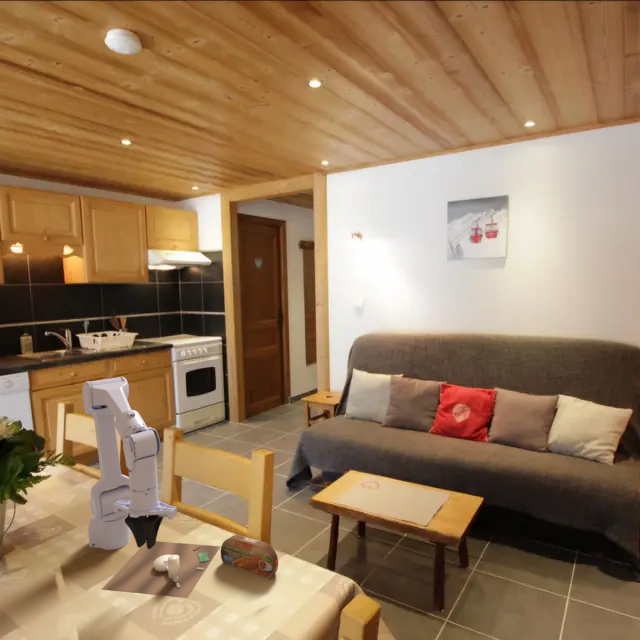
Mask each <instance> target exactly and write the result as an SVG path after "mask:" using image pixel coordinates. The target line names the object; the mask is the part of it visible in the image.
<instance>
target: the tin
mask: <svg viewBox="0 0 640 640" xmlns="http://www.w3.org/2000/svg"><path fill="white" fill-rule="evenodd" d="M220 546H221V547H220V558H221V561H222V563H223V565H229V566H231V567H235V568H238V569H241V570H243V571H247V572H250V573H252V574H256V575H258V576H261V577H265V578H267V579H268V580H269V581H270V580H271V579H272V578H273V576H274V575H276V573H277V572H278V569H279V558H278V554H277V551H276V550H275V549H274V548H273V546H272V545H270V544H269V543H268V542H266V541H262V540H259V539H256V538H251V537H248V536H245V535H240V534H234V535H232V536H230V537H229V538H226V539H225V540H223V542H222V544H221V545H220Z"/></svg>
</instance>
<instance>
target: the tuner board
mask: <svg viewBox="0 0 640 640" xmlns="http://www.w3.org/2000/svg"><path fill="white" fill-rule="evenodd" d="M221 546H222V545H210V544H209V545H208V544H197V543H196V544H193V543H182V542H169V541H158V540H156V544H155V545H154V546H153V547H152V548H151V549H147V545H146V543H145V544H144V545H143V546H141V547H139V548H138V550H137V551H136V552H135V553H134V554H133V555H132V556H131V557H130V559H128V561H126V562H125V564H124V565H123V566H122V567H121V568H120V569H119V570H118V571H117V572H116V573H115V574H114V575H113V576H112V577H111V578H110V580H108V582H107V583H105V584H104V586H103V587H102V588H101V590H104V591H114V592H127V593H136V594H145V595H146V594H147V595H153V596H154V595H155V596H164V597H165V596H166V597H174V598H175V597H176V598H186V599H187V598H189V596H190V595H191V593H192V592H193V590H194V588H195V587H196V586H197V584H198V583H199V581H200V579H201V578H202V576H203V574H204V573H205V572H206V570H207V568H208V567H209V565H210V564H211V562H212V561H213V559H214V558H215V556H216V555H217V553H218V552H219V551H220V550H221ZM163 555H178V556H179V566H180V575H179V576H178V577H179V580H178V581H175V582H174V580H173V579H172V578H169V573H168V571H164V572H159V571H156V570H155V569H154V561H155V560H156V559H157V558H159V557H160V556H163Z"/></svg>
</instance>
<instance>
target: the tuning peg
mask: <svg viewBox="0 0 640 640" xmlns="http://www.w3.org/2000/svg"><path fill="white" fill-rule="evenodd" d="M154 569H155V570H156V571H159V572H164V571H168V573H169V578H172V579H173V580H174V582H175V581H178V580H179V577H178V576H179V575H180V566H179V556H178V555H163V556H160V557H159V558H157V559H156V560H155V561H154Z"/></svg>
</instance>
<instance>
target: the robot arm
mask: <svg viewBox="0 0 640 640" xmlns="http://www.w3.org/2000/svg"><path fill="white" fill-rule="evenodd" d="M81 393H82V395H81V396H82V403H83V408H84V412H85V414H87V415H92V419H93V422H94V427H95V438H96V445H97V447H96V448H97V454H98V462H99V470H100V472H99V473H100V478H99V479H98V480H97V481H96V482H95V484H94V485H93V486H92V487H91V488H90V492H89V493H90V501H89V502H90V509H91V514H92V516H91V518H90V519H89V522H88V526H87V527H88V529H87V530H88V531H87V532H88V544H89V548H99V549H103V550H107V551H111V550H118V549H120V548H122V547H125V546H126V545H128V544H129V543H130V542H131V538H132V536H131V534H132V535H133V537H134V541H135V543H136V546H137V548H141V547H142V546H143V545H144V544H145V543H146V545H147V549H151V548H152V547H153V546H154V545H155V544H156V541H157V537H158V533H159V530H160V527H161V524H162V522H163V519H164V518H167V519H168V520H174V519H175V518H176V517H177V516H178V509H177V506H174V505H169V504H168V503H165V502H163V501H160V500H159V488H158V487H159V485H158V468H157V467H158V466H157V465H158V464H157V455H160V452H161V440H160V436H159V433H158V431H157V430H156V428H153V427H151V426H149V427H148V426H147V424H146V423H145V421H144V419H143V418H142V416H141V414H140V413H139V412H138V411H137V410H134V409H132V408H131V406H130V404H129V401H128V398H129V394H130V386H129V382H128V380H127V378H126V377H124V376H119V377H111V378H106V379H104V378H103V379H98V380H91V381H89V380H87V381H84V383H83V385H82V392H81ZM117 433H118V435H119V437H120V439H121V441H122V450H123V454H124V459H125V465H126V468H127V469H128V476H127V475H125V474H122V471H121V463H120V455H119V446H118V439H117Z"/></svg>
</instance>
